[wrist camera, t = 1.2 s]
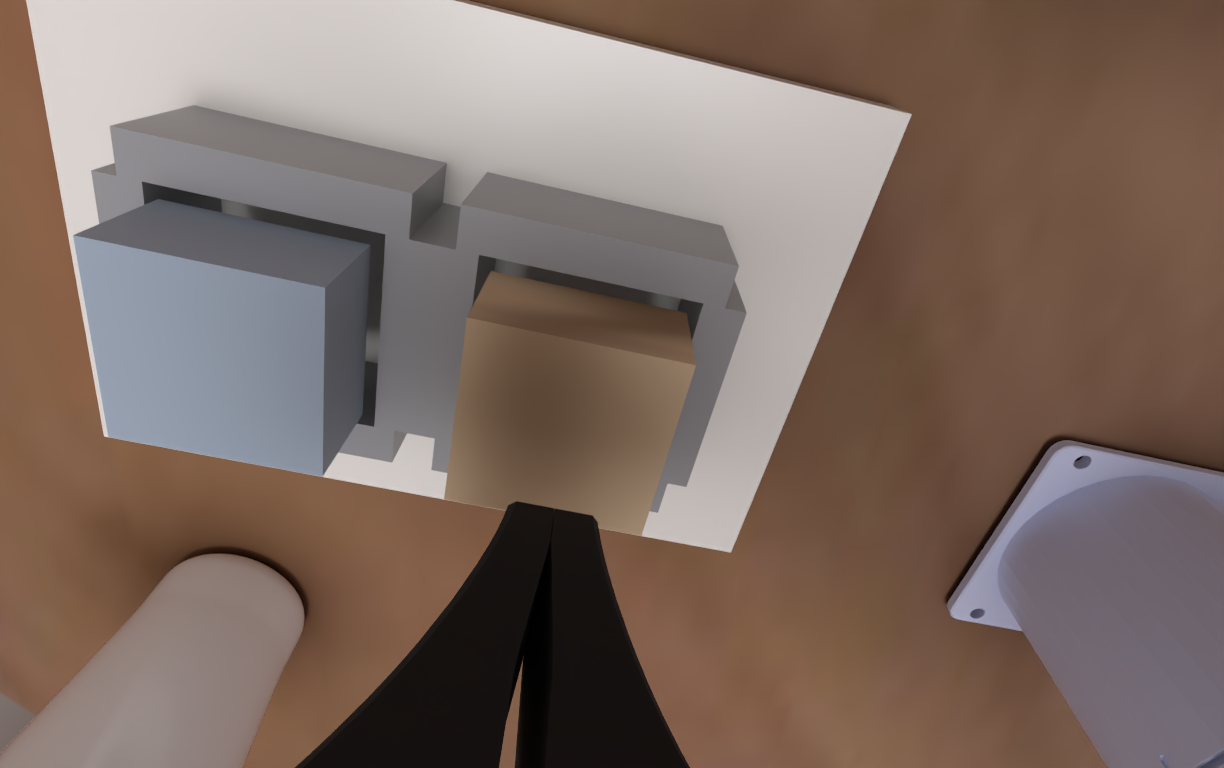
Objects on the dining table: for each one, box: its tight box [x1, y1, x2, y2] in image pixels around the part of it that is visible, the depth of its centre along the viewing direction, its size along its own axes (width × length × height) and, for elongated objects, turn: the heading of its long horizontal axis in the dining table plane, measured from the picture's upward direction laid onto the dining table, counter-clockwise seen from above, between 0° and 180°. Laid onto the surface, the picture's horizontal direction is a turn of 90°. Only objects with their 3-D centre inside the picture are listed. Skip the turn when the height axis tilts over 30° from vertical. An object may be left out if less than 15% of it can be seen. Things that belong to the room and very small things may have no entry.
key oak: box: [444, 271, 696, 536], centre depth 15 cm, size 4×4×2 cm
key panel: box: [26, 0, 912, 552], centre depth 18 cm, size 20×14×4 cm
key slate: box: [73, 199, 371, 477], centre depth 14 cm, size 4×4×2 cm
